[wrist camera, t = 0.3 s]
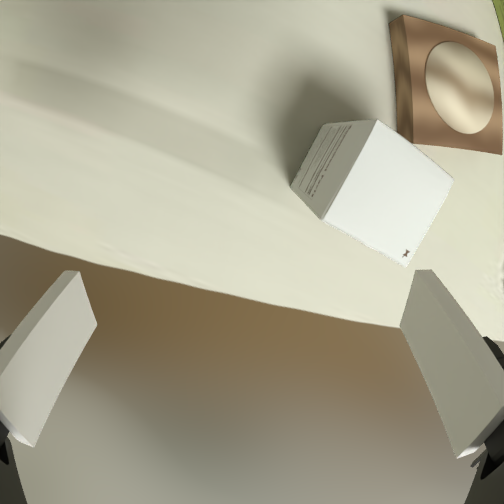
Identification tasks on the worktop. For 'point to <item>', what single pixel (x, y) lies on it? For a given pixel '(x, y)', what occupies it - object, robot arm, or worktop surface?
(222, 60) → the worktop surface
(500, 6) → the protein box
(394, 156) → the supplement box
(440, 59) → the pedestal
